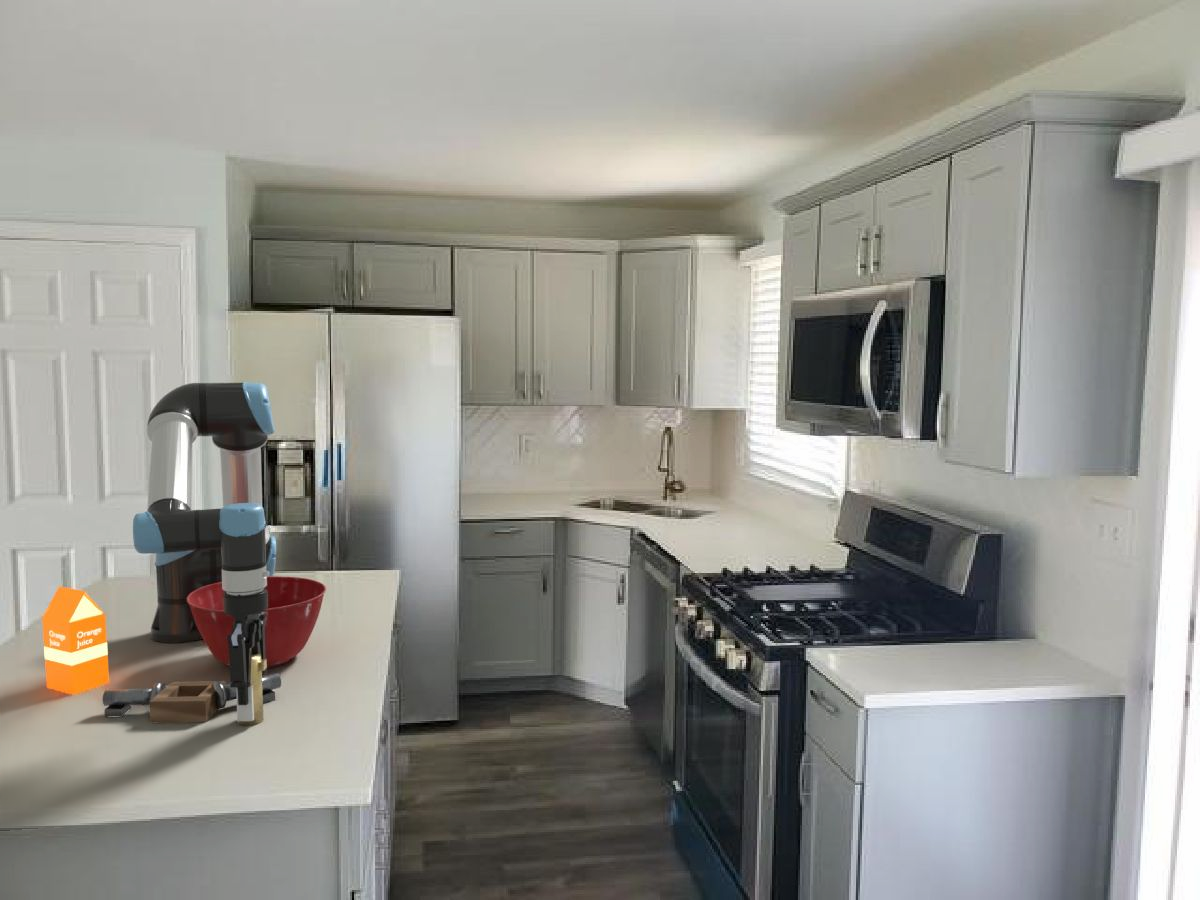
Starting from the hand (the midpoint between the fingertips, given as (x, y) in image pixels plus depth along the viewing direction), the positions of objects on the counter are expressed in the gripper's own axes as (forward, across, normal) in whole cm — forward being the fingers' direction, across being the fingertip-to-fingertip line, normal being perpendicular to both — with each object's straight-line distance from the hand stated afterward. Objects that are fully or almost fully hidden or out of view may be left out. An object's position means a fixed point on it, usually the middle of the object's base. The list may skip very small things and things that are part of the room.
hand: (250, 714), depth 166 cm
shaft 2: (+1, +9, +3) cm, 9 cm away
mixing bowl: (+1, +34, +9) cm, 35 cm away
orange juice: (+1, +20, +41) cm, 46 cm away
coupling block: (+1, +5, +13) cm, 14 cm away
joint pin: (+1, 0, 0) cm, 1 cm away
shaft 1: (+1, +5, +23) cm, 24 cm away
